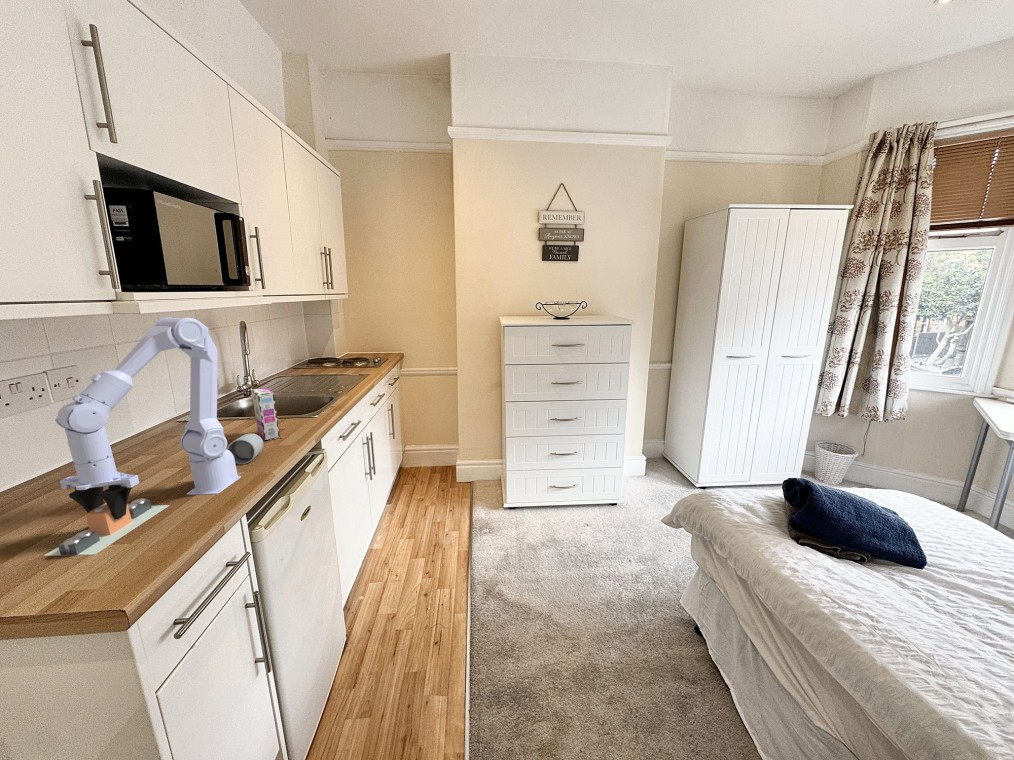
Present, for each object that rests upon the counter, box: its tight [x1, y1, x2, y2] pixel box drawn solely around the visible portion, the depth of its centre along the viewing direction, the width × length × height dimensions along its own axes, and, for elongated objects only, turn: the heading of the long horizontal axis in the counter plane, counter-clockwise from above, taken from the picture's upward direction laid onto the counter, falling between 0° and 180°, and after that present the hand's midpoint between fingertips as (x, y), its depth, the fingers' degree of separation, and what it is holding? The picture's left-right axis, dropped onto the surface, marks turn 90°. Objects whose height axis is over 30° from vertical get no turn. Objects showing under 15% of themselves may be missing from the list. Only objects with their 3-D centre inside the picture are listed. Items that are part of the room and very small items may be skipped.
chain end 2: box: [127, 497, 153, 519], centre depth 92 cm, size 5×3×2 cm
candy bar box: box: [251, 387, 281, 441], centre depth 140 cm, size 11×5×16 cm, turn 42°
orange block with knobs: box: [85, 502, 132, 535], centre depth 86 cm, size 5×4×6 cm
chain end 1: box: [57, 529, 100, 556], centre depth 80 cm, size 5×3×2 cm
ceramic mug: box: [226, 432, 264, 465], centre depth 121 cm, size 11×8×8 cm
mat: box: [43, 504, 170, 557], centre depth 87 cm, size 18×10×1 cm, turn 0°
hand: (109, 517), depth 86 cm, fingers closed on orange block with knobs, 4 cm apart
